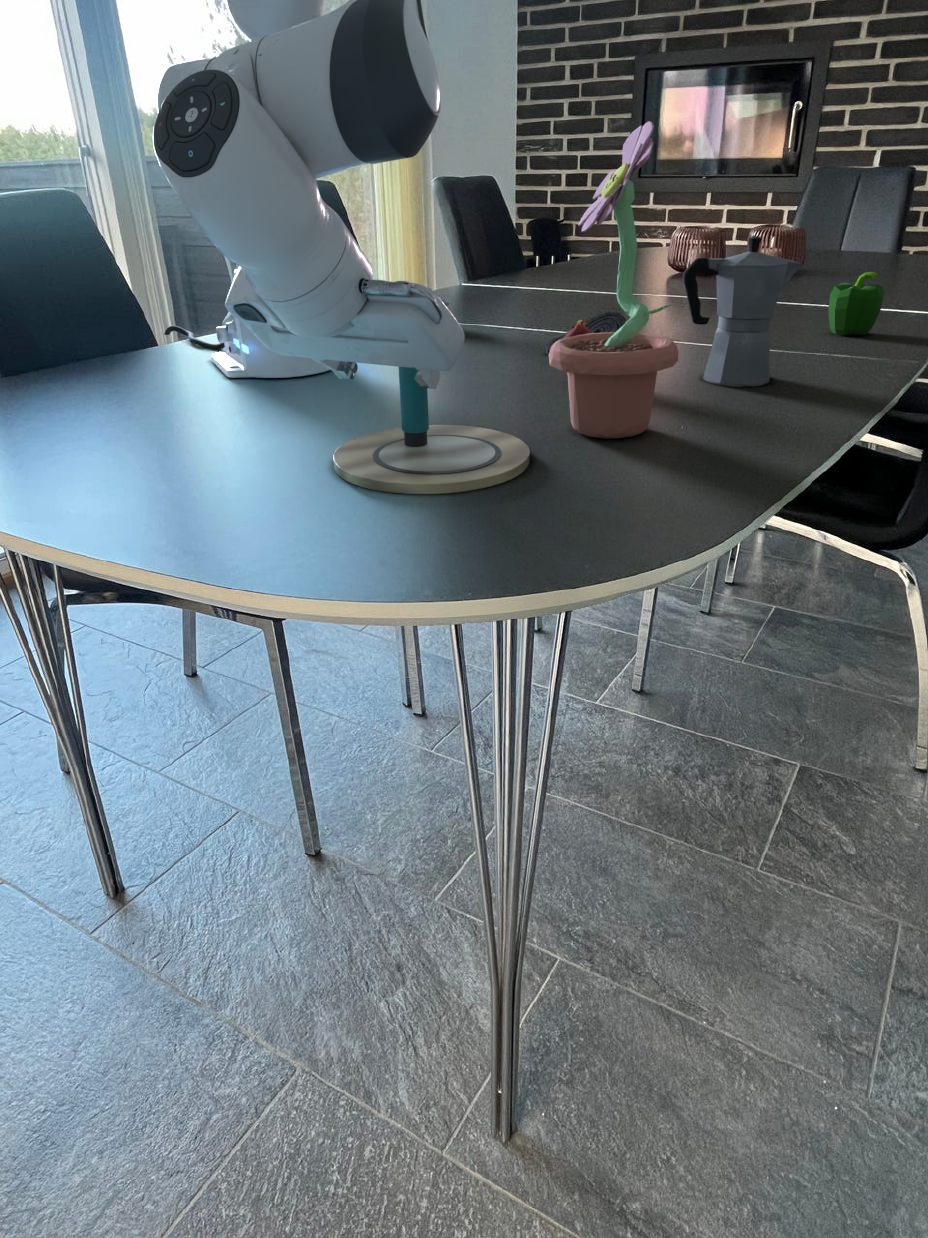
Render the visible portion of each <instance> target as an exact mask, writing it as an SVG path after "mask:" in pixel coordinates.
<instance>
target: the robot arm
mask: <svg viewBox="0 0 928 1238" xmlns="http://www.w3.org/2000/svg"><path fill="white" fill-rule="evenodd" d="M225 4H226V8H227V12H228V15H229V17H230V19H231V21H232V23H233V24H234V26H235V27H236V29H238V31H239V32H240V33H241V34H242V35H243V36H244V38H246V39H247V40H248V41H246V42H244V43H240V44H237V45H235V46H233V47H231V48H228V49H226V50H224V51H222V52H221V53H220V54H218V55H215V56H214V57H212V58H207V57H204V58H197V59H192V60H185V61H182V62H177V63H174V64H173V63H172V64H170V65H168V66H167V68H166V69H165V70H164V71H163V73H162V75H161V77H160V80H159V82H158V86H157V91H156V109H157V115H156V117H155V120H154V124H153V130H152V145H153V150H154V154H155V157H156V159H157V161H158V164H159V166H160V168H161V170H162V172H163V174H164V176H165V178H166V180H167V181H168V183H169V185H170V187H171V188H172V190H173V192H174V193H175V196H177V198H178V200H179V201H180V203H181V204H182V205H183V207H184V208H185V210H186V211H187V213H188V214H189V215H190V217H191V218H192V219H193V220H194V222H195V223H196V224H197V226H198V227H199V228H200V230H201V231H202V232H203V234H205V236H206V237H207V238H208V239H209V240H210V242H212V244H213V245H214V246H215V247H216V249H217V250H218V251H219V252H220V253H221V254H222V255H223V256H224V257H225V258H226V259H228V260H229V261H231V262H232V263H234V264H235V269H234V271H233V273H232V274H233V279H232V283H231V285H230V289H229V290H228V294H227V295H226V299H225V302H224V307H225V309H226V310H227V311H228V312H227V314H226V316H225V317H224V319H223V321H222V323H221V325H222V326H216V328H215V333H216V338H217V341H218V343H210V342H206V341H203V340H201V339H199V338H196V337H195V335H194V334H195V333H193V332H192V331H190V330H188V329H185V328H183V327H181V326H177V325H169V326H168V327H167V328H166V329H165V330H164V333H163V335H165V336H170V335H171V333H172V332H175V333H176V332H177V333H179V334H182V335H184V336H185V337H187V338H188V341H189V342H190V343H191V344H194V345H196V346H199V347H200V348H204V349H208V350H209V349H210V350H216V351H217V352H215V353H212V354H211V362H212V363H213V364H214V365H215V366H216V367H217V368H218V369H219V370H220V371H221V372H222V373H223V374H224V375H225V376H226V377H228V378H233V379H234V378H235V379H236V378H261V379H268V378H269V379H278V378H279V379H280V378H281V379H283V378H284V379H285V378H295V377H305V376H312V375H315V374H321V373H324V372H328V371H331V372H333V373H334V375H336V377H337V378H338V379H339V380H348V381H349V380H351V381H353V380H354V379H355V377H356V373H357V372H358V369H359V368H358V367H359V365H358V364H368V365H376V366H377V365H378V366H387V367H398V368H399V367H407V368H416V369H417V370H419V371H418V372H417V374H416V376H415V380H416V381H417V383H419V384H420V385H419V386H420V387H422V388H427V389H430V390H436V389H437V388H438V385H439V382H440V380H441V372H448V371H449V372H450V371H451V370H452V369H453V367H454V366H455V364H456V363H457V361H458V359H459V357H460V354H461V352H462V349H463V346H464V344H465V331H464V330H463V328H462V326H461V325H460V323H459V321H458V320H457V319H456V317H455V316H454V314H453V313H452V312H451V311H450V309H449V308H448V306H447V307H446V306H445V304H444V303H443V302H442V301H441V300H440V299H439V297H438V296H437V295H436V294H435V293H434V292H435V291H434V292H432V291H433V290H432V291H431V290H430V289H428V288H429V287H427V286H425V285H424V284H423V285H422V284H420V283H417V282H410V281H407V280H396V281H389V280H384V279H374V273H373V267H372V265H371V262H370V260H369V259H368V257H367V256H366V254H365V253H364V251H363V250H362V248H361V247H360V245H359V243H358V242H357V241H356V239H355V238H354V236H353V235H352V233H351V231H350V230H349V228H348V227H347V225H346V224H345V222H344V221H343V219H342V218H341V217H340V215H339V214H338V213H337V212H336V211H335V210H334V209H333V208H332V207H331V206H329V205H328V204H327V203H326V202H325V200H324V199H323V198H322V196H321V193H320V190H319V186H318V183H317V182H318V179H319V178H322V177H326V176H330V175H334V174H337V173H340V172H345V171H347V170H351V169H354V168H357V167H362V166H366V165H376V164H381V163H387V162H393V161H398V160H399V161H400V160H405V159H410V158H411V159H412V158H413V157H415V156H417V155H418V154H419V153H420V151H421V150H422V148H423V146H424V145H425V143H426V142H427V140H428V139H429V137H430V135H431V134H432V131H433V130H434V128H435V125H436V124H437V121H438V119H439V116H440V113H441V107H442V105H441V104H442V103H441V91H440V80H439V75H438V71H437V66H436V62H435V58H434V55H433V51H432V49H431V46H430V43H429V39H428V34H427V30H426V25H425V19H424V13H423V7H422V0H348V1H346V2H345V3H344V4H343V5H340V6H339V7H338V8H336V9H333V10H332V11H330V12H328V13H326V14H323V8H324V7H323V6H324V0H225ZM322 14H323V15H322ZM223 349H224V350H223ZM218 350H223V351H219V352H218Z"/></svg>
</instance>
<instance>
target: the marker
mask: <svg viewBox="0 0 928 1238" xmlns="http://www.w3.org/2000/svg"><path fill="white" fill-rule="evenodd" d="M418 371H419V370H417V369H416V368H407V367H398V383H399V401H400V402H399V403H400V420H401V421H400V422H401V427H402V431H403V432H404V442H405V445H406V446H409V447H421V446H425V445H427V443H428V442H427V431H428V430H429V425H430V422H429V400H428V399H429V396H428V388H422V387H420V386H419V385H420V384H419V383H417V381H416V380H415V376H416V374H417V372H418Z"/></svg>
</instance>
